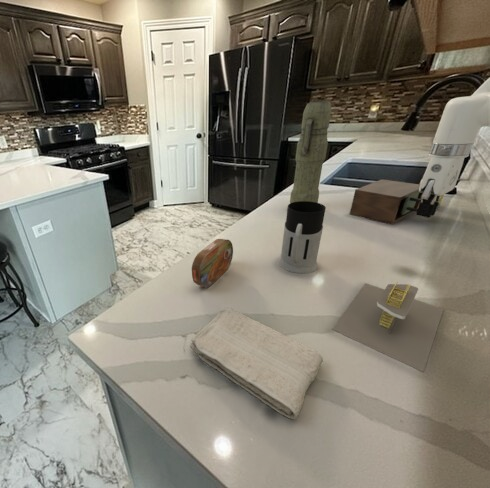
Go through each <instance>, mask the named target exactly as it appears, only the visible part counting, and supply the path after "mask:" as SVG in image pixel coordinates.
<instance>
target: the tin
mask: <svg viewBox="0 0 490 488" xmlns="http://www.w3.org/2000/svg"><path fill="white" fill-rule="evenodd" d="M233 256H234V247H233V243H232V241H231V240H230V239H224V238H216V239H215V240H213V241H212V242H210V243H209V244H208V245H207V246H206V247H204V248H203V249H202V250H201V251H199V252H198V253H197V254H196V256H195V257H194V259H193V262H192V264H191V278H192V281H193V283H194V284H195V285H198V286H200V287H203V288H205V289H207V288H210V287H211V286H212V285H214V283H215V282H216V281H217V280H219V279H220V278H221V276H223V274H225V273H226V272H227V271H228V269H229V268H230V266H231V263H232V261H233Z"/></svg>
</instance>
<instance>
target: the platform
mask: <svg viewBox="0 0 490 488" xmlns="http://www.w3.org/2000/svg"><path fill="white" fill-rule="evenodd" d="M418 291H419V288H418V287H417V286H415V285H411V284H410V283H408V284H407V283H406V284H405V283H399V281H398V280H397V281H396V282H395V283H388V284H387V285H386V287H385V288H381V287H378V286H377V285H372V284H369V283H366V282H365V283H363V285H362V287H361V288H360V290H359V291H358V292H357V294H356V296H354V298H353V300H352V301H351V302H350V303H349V305H348V307H346V309H345V310H344V312H343V313H342V315H341V316H340V317H339V319H338V320H337V322H336V323H335V324H334V326H333V327H332V330H333V331H335V332H337V333H339V334H341V335H344V336H346V337H347V338H350V339H352V340H354V341H356V342H359V343H361V344H363V345H365V346H367V347H369V348H370V349H373V350H376V351H378V352H380V353H382V354H383V355H386V356H388V357H390V358H393V359H394V360H397V361H399V362H401V363H403V364H405V365H408V366H409V367H412V368H414V369H416V370H418V371H420V372H423V373H424V372H425V370H426V365H427V363H428V359H429V356H430V353H431V350H432V347H433V343H434V341H435V338H436V335H437V331H438V328H439V325H440V321H441V318H442V316H443V312H444V308H442V307H439V306H436V305H433V304H429V303H427V302H425V301H421V300H418V299H415V298H416V295H417V294H418Z"/></svg>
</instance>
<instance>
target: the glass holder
mask: <svg viewBox="0 0 490 488" xmlns="http://www.w3.org/2000/svg"><path fill="white" fill-rule="evenodd" d="M325 215H326V206H325V204H322V203H319V202H318V203H316V202H310V201H298V202H293V203H290V202H289V203H288V205H287V209H286V218H285V222H284V227H283V235H282V243H281V244H282V245H281V254H280V257H279V259H278V261H277V262H278V265H279V267H280V268H282V269H284V270H285V271H287V272H291V273H295V274H311V273H314V272H315V271H316V270H318V263H317V259H318V256H319V255H318V254H319V249H320V246H321V245H320V244H321V240H322V234H323V230H324V225H323V224H324V219H325Z"/></svg>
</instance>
